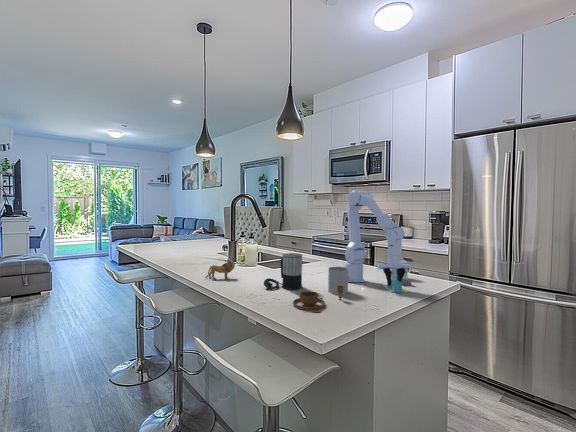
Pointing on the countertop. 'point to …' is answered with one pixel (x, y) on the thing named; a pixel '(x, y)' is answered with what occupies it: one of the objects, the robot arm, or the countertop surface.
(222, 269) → the lion figurine
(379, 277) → the countertop surface
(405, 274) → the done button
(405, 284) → the button housing
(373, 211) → the robot arm
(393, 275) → the medicine box
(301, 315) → the countertop surface
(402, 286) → the kraft paper
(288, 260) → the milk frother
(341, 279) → the cup
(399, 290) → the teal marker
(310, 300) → the place setting
